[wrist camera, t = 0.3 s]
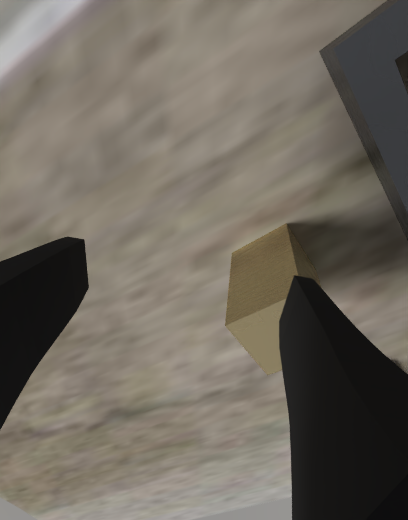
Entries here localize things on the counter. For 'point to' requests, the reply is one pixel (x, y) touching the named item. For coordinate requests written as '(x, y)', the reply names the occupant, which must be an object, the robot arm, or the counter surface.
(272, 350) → the brass peg
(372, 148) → the grey slotted block
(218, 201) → the counter surface
